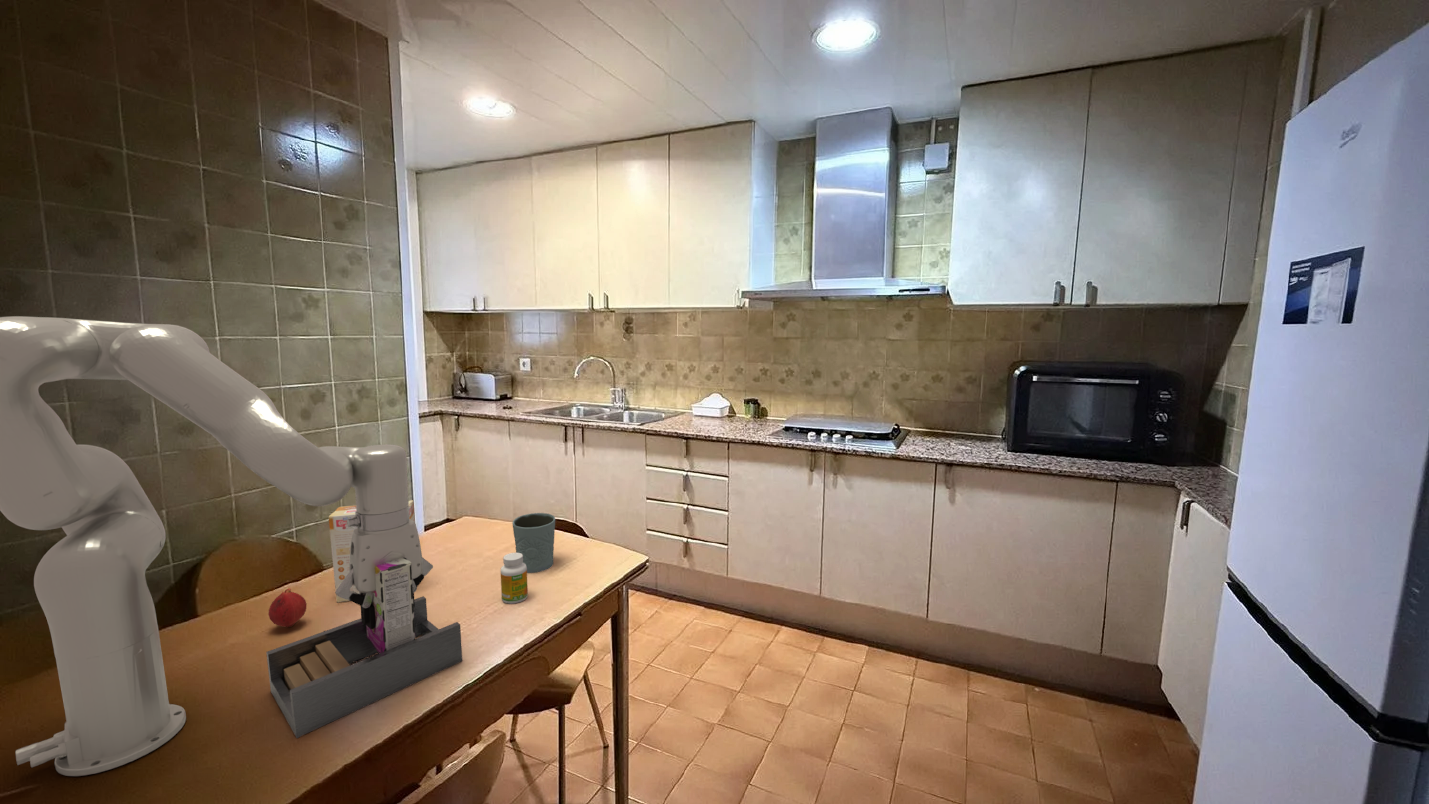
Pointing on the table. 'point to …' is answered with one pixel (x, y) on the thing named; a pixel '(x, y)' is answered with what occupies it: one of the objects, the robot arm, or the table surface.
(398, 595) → the candy bar box
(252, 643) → the table surface
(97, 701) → the robot arm
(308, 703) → the rack
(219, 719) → the table surface
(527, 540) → the grey green cup
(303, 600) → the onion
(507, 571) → the supplement bottle
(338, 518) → the coffeecake box
